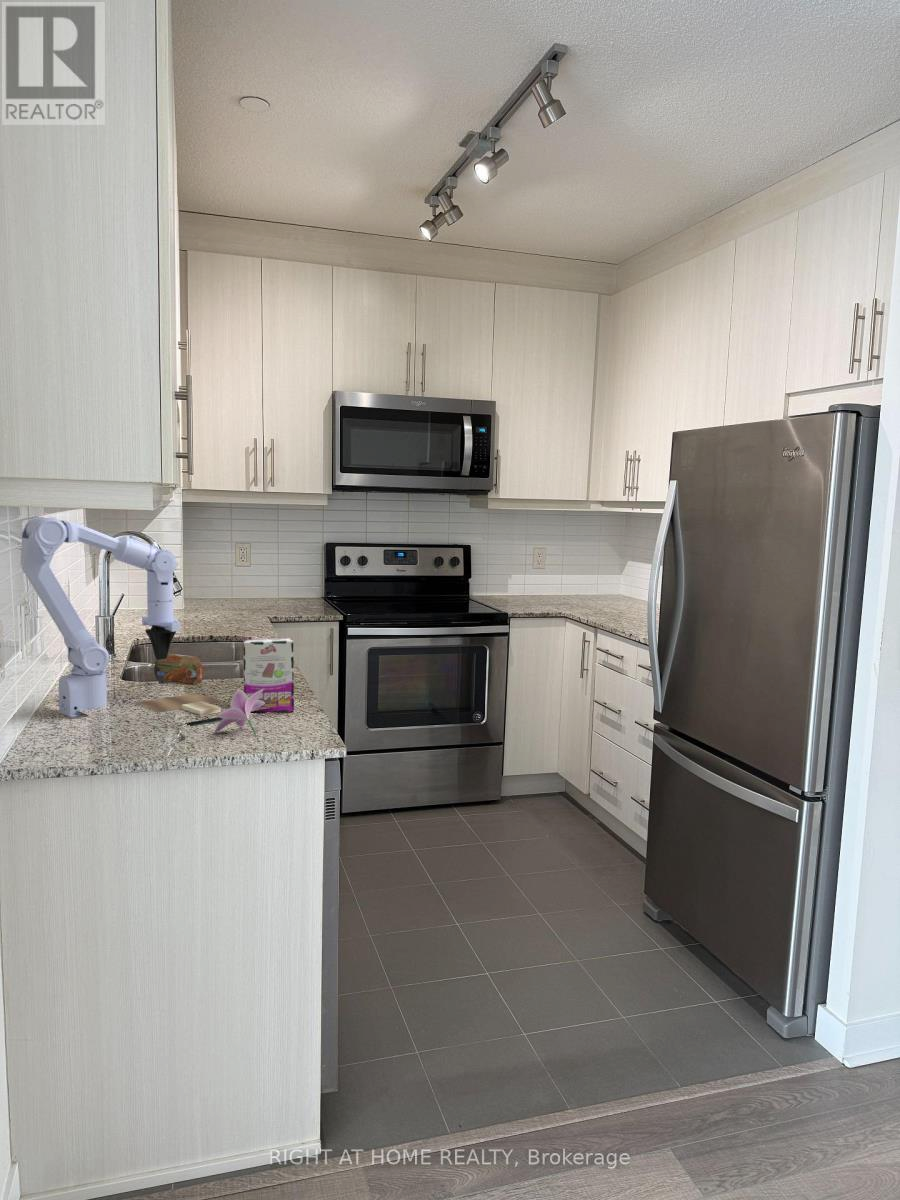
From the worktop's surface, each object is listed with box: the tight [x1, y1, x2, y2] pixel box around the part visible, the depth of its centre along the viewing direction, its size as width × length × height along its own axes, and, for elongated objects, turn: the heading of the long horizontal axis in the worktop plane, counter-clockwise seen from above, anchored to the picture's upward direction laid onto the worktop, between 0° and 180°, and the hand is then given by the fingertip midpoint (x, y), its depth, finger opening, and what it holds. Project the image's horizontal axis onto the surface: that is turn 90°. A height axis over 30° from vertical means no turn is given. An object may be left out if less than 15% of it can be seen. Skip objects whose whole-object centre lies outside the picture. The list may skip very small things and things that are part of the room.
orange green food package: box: [153, 653, 204, 686], centre depth 213 cm, size 15×3×8 cm, turn 62°
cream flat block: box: [181, 702, 222, 716], centre depth 183 cm, size 5×8×2 cm, turn 46°
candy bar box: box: [242, 637, 295, 714], centre depth 189 cm, size 11×5×16 cm, turn 105°
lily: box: [214, 688, 265, 736], centre depth 170 cm, size 12×12×10 cm
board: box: [133, 692, 225, 713], centre depth 190 cm, size 16×12×2 cm
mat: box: [184, 717, 223, 727], centre depth 182 cm, size 12×11×1 cm
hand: (161, 658), depth 194 cm, fingers closed
